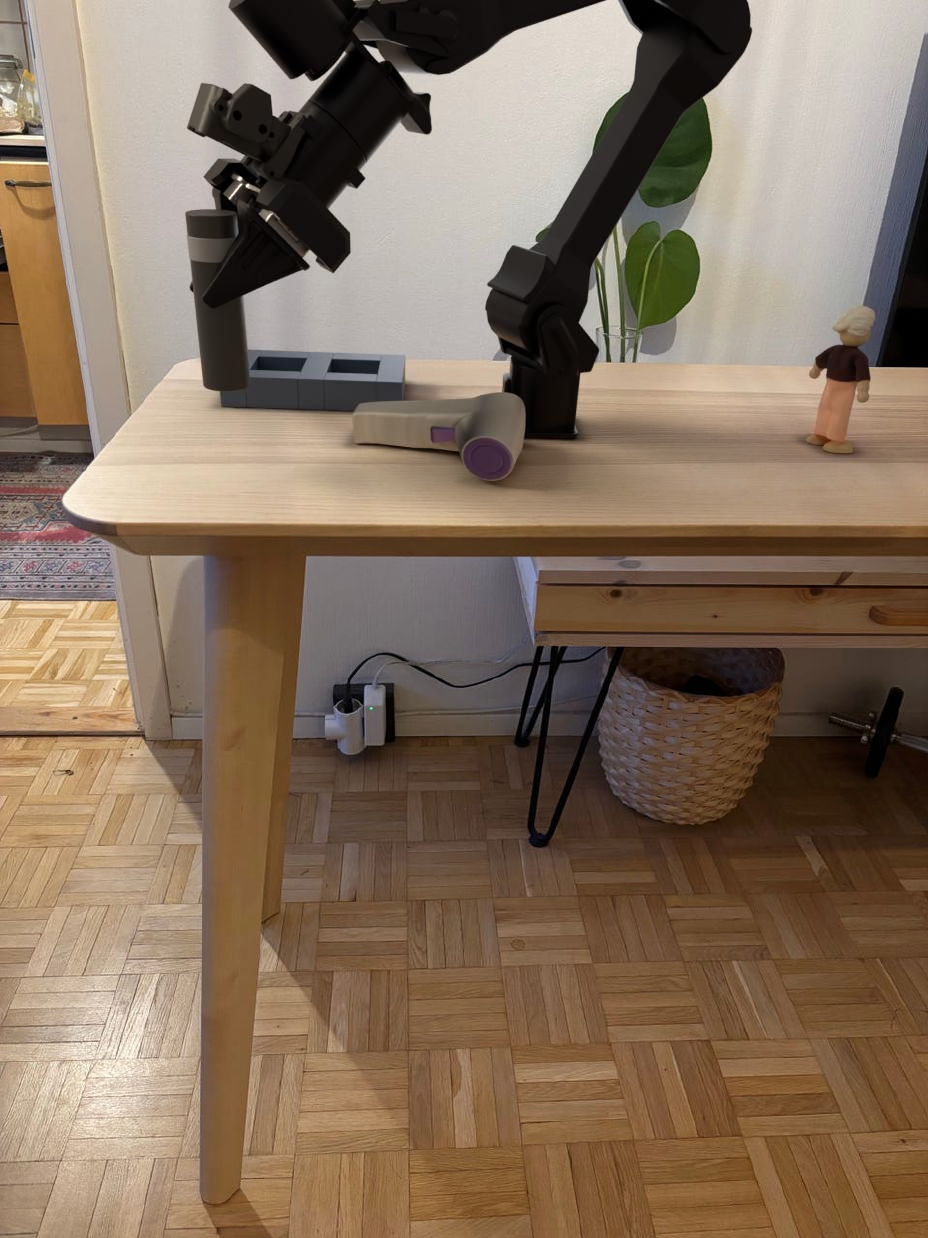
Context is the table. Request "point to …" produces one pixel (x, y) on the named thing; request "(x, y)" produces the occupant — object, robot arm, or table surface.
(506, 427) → the infrared thermometer
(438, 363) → the table surface
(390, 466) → the table surface
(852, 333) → the grandmother figurine
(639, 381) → the table surface
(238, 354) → the dark grey banded cylinder
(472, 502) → the table surface
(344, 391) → the grey flat block
